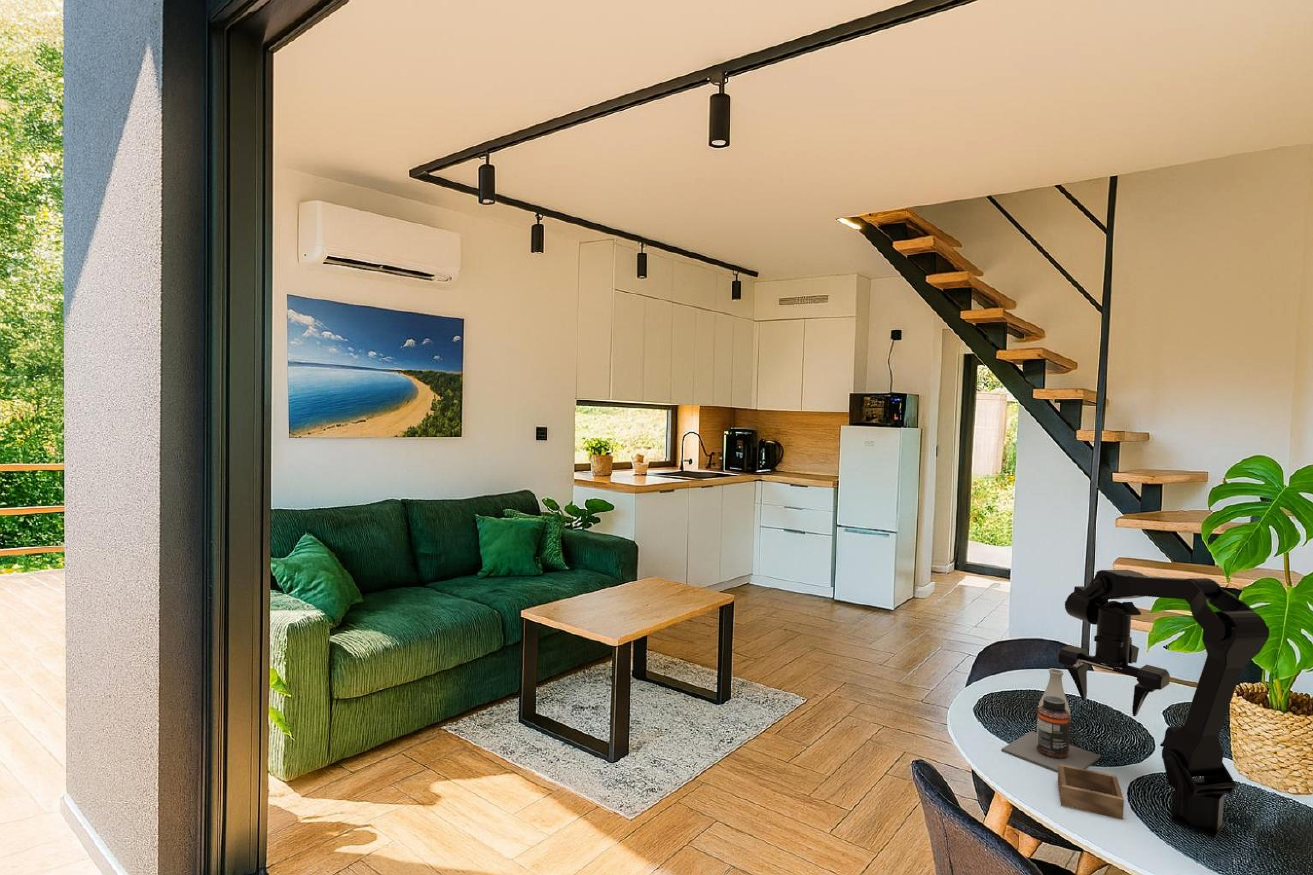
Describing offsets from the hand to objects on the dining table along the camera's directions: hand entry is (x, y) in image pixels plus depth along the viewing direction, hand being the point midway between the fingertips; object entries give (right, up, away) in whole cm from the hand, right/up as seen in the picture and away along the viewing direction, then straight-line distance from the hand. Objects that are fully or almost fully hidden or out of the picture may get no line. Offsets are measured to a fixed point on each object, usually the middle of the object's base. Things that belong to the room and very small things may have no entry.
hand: (1108, 707), depth 148 cm
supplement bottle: (-9, -11, +5) cm, 15 cm away
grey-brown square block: (-9, -12, +5) cm, 16 cm away
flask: (+4, -11, +27) cm, 30 cm away
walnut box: (-12, -12, -13) cm, 21 cm away
